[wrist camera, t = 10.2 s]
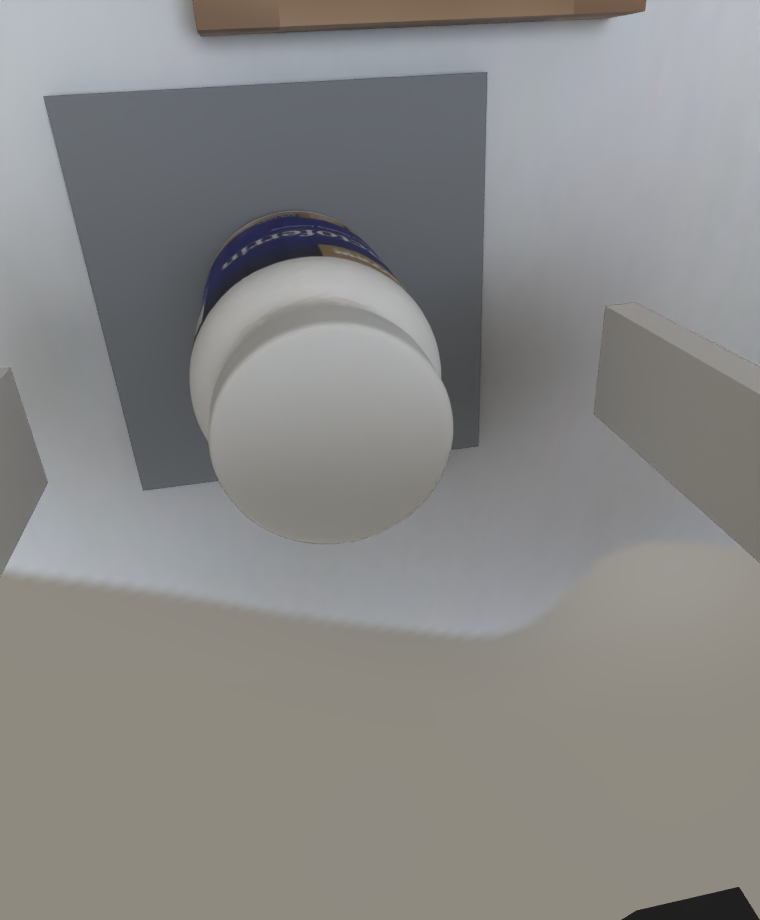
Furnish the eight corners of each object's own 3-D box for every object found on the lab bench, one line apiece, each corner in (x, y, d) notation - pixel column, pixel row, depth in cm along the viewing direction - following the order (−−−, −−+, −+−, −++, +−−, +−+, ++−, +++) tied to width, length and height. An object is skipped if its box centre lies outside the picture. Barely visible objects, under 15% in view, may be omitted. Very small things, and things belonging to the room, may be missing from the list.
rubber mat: (474, 440, 26) (478, 446, 25) (144, 483, 24) (142, 490, 24) (481, 72, 20) (487, 72, 19) (48, 96, 18) (43, 96, 18)
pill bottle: (386, 203, 21) (494, 287, 12) (386, 381, 23) (474, 552, 15) (189, 210, 20) (154, 305, 11) (214, 394, 22) (201, 585, 14)
